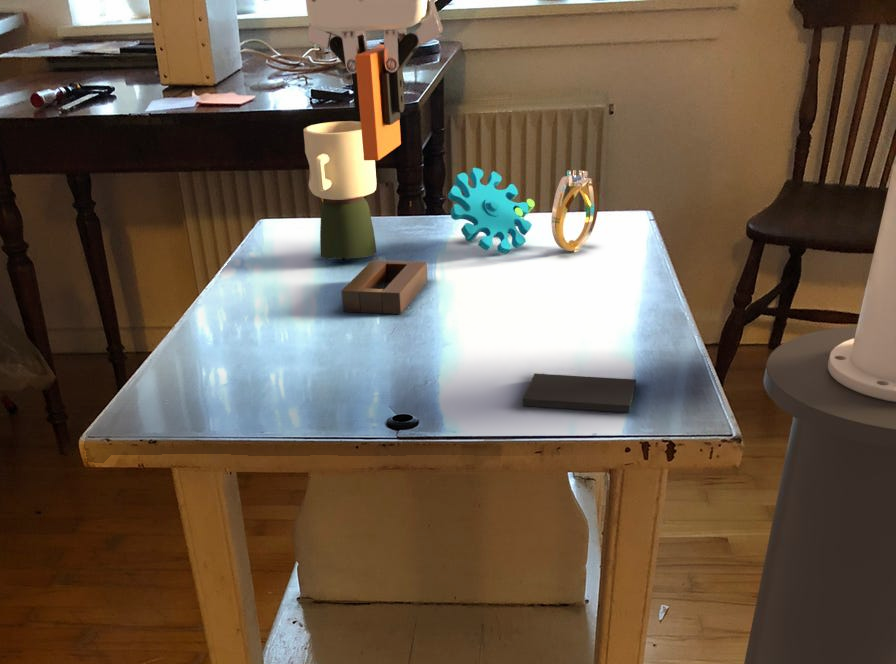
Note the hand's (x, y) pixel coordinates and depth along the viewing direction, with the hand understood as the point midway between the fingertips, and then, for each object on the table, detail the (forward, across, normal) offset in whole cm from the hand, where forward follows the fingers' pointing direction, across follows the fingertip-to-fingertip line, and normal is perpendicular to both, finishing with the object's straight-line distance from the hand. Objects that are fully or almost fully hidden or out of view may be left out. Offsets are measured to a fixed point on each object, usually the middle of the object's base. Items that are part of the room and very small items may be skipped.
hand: (380, 120), depth 86 cm
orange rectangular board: (+3, 0, 0) cm, 3 cm away
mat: (+16, +21, -20) cm, 34 cm away
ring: (+16, +15, +18) cm, 28 cm away
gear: (+16, +6, +18) cm, 25 cm away
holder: (+16, -1, 0) cm, 16 cm away
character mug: (+16, -9, +12) cm, 22 cm away
